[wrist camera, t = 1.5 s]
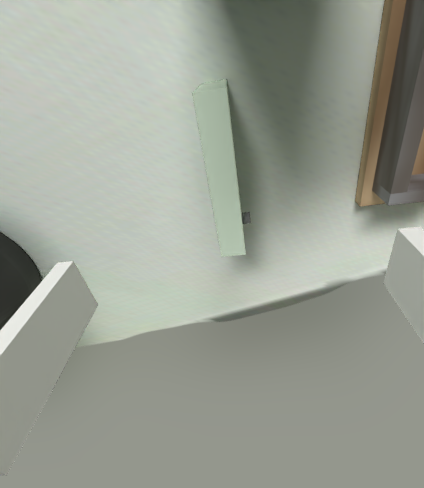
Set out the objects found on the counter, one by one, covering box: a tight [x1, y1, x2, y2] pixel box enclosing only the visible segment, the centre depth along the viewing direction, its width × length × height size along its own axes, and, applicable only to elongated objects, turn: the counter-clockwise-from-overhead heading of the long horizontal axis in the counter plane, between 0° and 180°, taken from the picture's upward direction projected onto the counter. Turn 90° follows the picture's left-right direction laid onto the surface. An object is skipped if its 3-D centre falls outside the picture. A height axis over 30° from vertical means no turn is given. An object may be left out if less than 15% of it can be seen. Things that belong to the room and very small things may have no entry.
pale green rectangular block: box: [192, 79, 250, 257], centre depth 22 cm, size 3×12×7 cm, turn 9°
